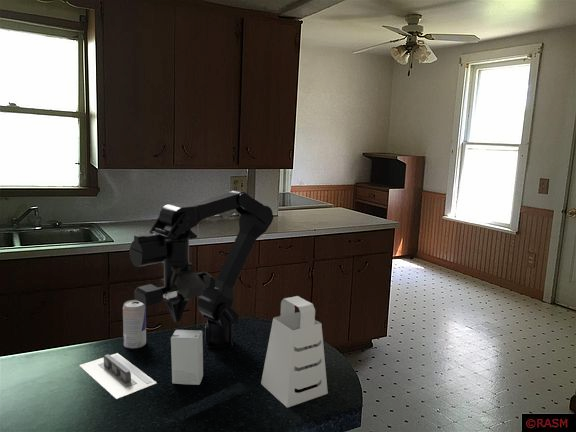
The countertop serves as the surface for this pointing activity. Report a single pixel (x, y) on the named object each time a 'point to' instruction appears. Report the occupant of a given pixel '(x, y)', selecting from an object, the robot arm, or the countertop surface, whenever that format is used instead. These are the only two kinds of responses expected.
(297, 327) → the grater
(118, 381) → the breaker panel
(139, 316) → the energy drink
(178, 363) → the skincare box
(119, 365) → the breaker paddles
